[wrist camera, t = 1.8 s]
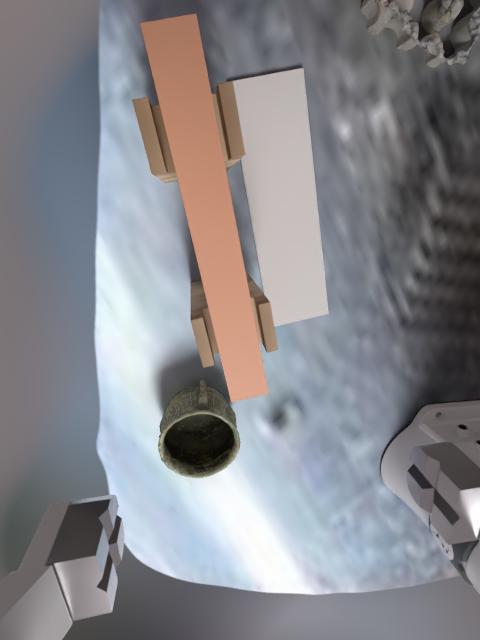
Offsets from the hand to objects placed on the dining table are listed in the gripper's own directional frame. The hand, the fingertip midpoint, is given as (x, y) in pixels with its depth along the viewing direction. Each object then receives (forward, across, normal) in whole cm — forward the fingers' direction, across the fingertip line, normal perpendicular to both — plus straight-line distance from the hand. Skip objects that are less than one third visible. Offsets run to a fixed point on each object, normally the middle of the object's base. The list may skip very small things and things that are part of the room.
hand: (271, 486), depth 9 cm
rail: (+18, 0, -5) cm, 19 cm away
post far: (+28, -1, +2) cm, 28 cm away
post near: (+28, +1, -12) cm, 31 cm away
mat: (+28, -8, -6) cm, 30 cm away
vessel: (+29, +3, +17) cm, 33 cm away
